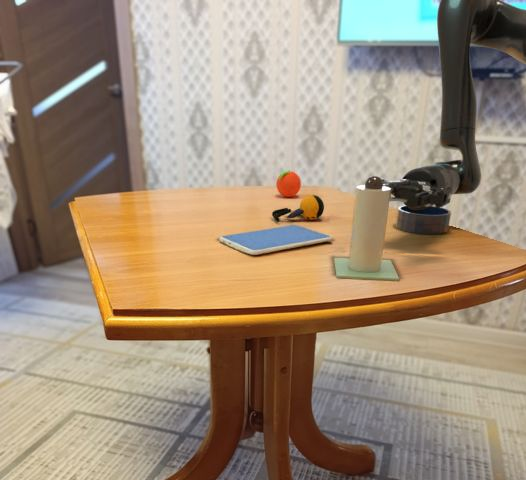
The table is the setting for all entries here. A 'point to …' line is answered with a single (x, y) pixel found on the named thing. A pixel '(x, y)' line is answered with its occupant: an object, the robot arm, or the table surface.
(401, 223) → the bowl
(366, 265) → the pepper mill
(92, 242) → the table surface
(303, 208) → the character figurine
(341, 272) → the napkin
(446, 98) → the robot arm
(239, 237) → the tablet
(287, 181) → the clementine
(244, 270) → the table surface
